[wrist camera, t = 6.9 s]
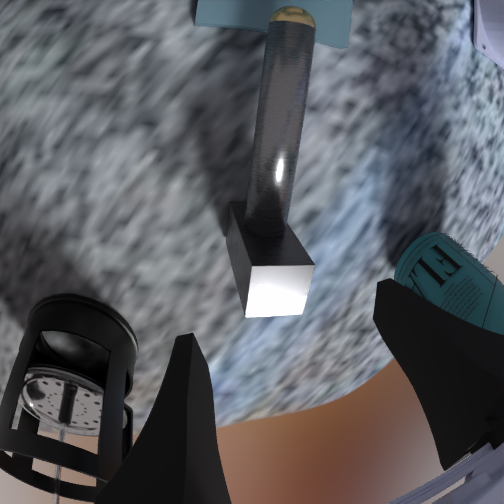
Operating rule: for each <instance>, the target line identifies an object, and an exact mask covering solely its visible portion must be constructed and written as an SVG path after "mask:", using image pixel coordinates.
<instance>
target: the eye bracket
mask: <svg viewBox="0 0 504 504" xmlns="http://www.w3.org/2000/svg"><path fill="white" fill-rule="evenodd" d="M352 4H353V0H198V4H197V11H196V18H195V26H209V27H223V28H233V29H243V30H251V31H258V32H265V33H267V30H268V23H269V19H270V17H271V15H272V14H273V13H274V12H275V11H276V10H278V9H280V8H282V7H285V6H297V7H301V8H303V9H305V10H306V11H308V12H309V13H310V14H311V15H312V17H313V18H314V20H315V23H316V34H315V42H316V43H320V44H325V45H328V46H332V47H336V48H340V49H343V48H348V40H349V32H350V23H351V14H352Z"/></svg>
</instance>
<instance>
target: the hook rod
mask: <svg viewBox="0 0 504 504" xmlns="http://www.w3.org/2000/svg"><path fill="white" fill-rule="evenodd" d="M315 34H316V23H315V20H314V18H313V17H312V15H311V14H310V13H309V12H308V11H306V10H305V9H303V8H301V7H297V6H285V7H282V8H280V9H278V10H276V11H275V12H274V13H273V14H272V15H271V17H270V19H269V23H268V30H267V38H266V46H265V54H264V61H263V69H262V77H261V85H260V93H259V101H258V110H257V118H256V126H255V134H254V143H253V151H252V160H251V168H250V177H249V186H248V194H247V202H229V211H228V222H227V234H226V245H227V249H228V253H229V257H230V261H231V265H232V269H233V273H234V276H235V280H236V284H237V288H238V292H239V296H240V299H241V303H242V307H243V311H244V315H245V317H264V316H281V315H296V314H302V313H303V310H304V306H305V302H306V299H307V295H308V291H309V288H310V284H311V280H312V276H313V272H314V268H315V264H314V263H313V261H312V260H311V258H310V256H309V255H308V253H307V252H306V250H305V249H304V247H303V246H302V244H301V243H300V241H299V240H298V238H297V237H296V235H295V234H294V232H293V231H292V229H291V228H290V226H289V225H288V224H287V219H288V213H289V207H290V201H291V196H292V190H293V184H294V178H295V172H296V165H297V159H298V153H299V147H300V140H301V134H302V127H303V121H304V114H305V107H306V100H307V94H308V87H309V79H310V72H311V65H312V57H313V50H314V42H315Z"/></svg>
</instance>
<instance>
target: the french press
mask: <svg viewBox="0 0 504 504" xmlns="http://www.w3.org/2000/svg"><path fill="white" fill-rule="evenodd" d="M42 331H60V332H66V333H70V334H75V335H78V336H80V337H83V338H86V339H88V340H90V341H92V342H94V343H96V344H98V345H100V346H102V347H103V348H105V349H106V350H108V351H109V358H108V364H107V369H104V370H95V371H93V370H85V369H80V368H77V367H74V366H72V365H69V364H67V363H65V362H64V361H62V360H61V359H59V358H58V357H57V356H56V355H55V354H53V352H52V351H51V350H50V349H49V348H48V346H47V345H46V343H45V341H44V338H43V335H42ZM137 358H138V343H137V339H136V337H135V334H134V332H133V330H132V329H131V328H130V326H129V325H128V323H127V322H126V321H125V320H124V319H123V318H122V317H121V316H120V315H119V314H117V313H116V312H114V311H113V310H112V309H110V308H109V307H107V306H105V305H103V304H102V303H100V302H98V301H95V300H92V299H90V298H87V297H83V296H78V295H73V294H59V295H52V296H49V297H47V298H44V299H43V300H41V301H40V302H38V303H37V304H36V305H35V307H34V308H33V309H32V311H31V313H30V316H29V319H28V326H27V329H26V331H25V333H24V336H23V338H22V340H21V343H20V347H19V353H18V355H17V358H16V360H15V363H14V366H13V369H12V371H11V374H10V377H9V380H8V383H7V386H6V389H5V392H4V395H3V399H2V402H1V405H0V468H1V469H2V470H3V471H5V472H6V473H8V474H9V475H11V476H13V477H15V478H16V479H18V480H20V481H22V482H24V483H26V484H29V485H31V486H33V487H35V488H38V489H40V490H43V491H46V492H49V493H52V494H54V495H53V496H54V497H53V504H59V496H62V497H65V498H70V499H74V500H79V501H85V502H92V503H94V500H95V497H96V496H97V494H98V493H99V492H100V491H101V490H102V489H103V487H104V486H105V485H106V484H107V483H108V481H109V480H110V479H111V478H112V476H113V475H114V474H115V472H116V471H117V470H118V468H119V467H120V465H121V464H122V462H123V461H124V459H125V458H126V457H127V455H128V453H129V452H130V450H131V449H132V447H133V410H132V408H130V407H129V406H128V405H127V404H125V403H124V399H125V398H126V397H127V396H128V395H129V394H130V392H131V390H132V386H133V374H134V365H135V363H136V361H137ZM18 403H19V404H20V405H21V406H22V407H23V408H22V411H21V416H20V420H19V424H18V429H17V430H16V429H11V428H12V424H13V419H14V415H15V411H16V408H17V404H18ZM40 421H42V422H44V423H46V424H48V425H50V426H52V427H54V428H57V429H59V430H60V435H59V441H58V440H55V439H52V438H49V437H45V436H42V435H38V434H37V432H38V427H39V422H40ZM66 432H68V433H73V434H77V435H83V436H99V439H98V453H97V454H94V453H92V452H89V451H87V450H84V449H81V448H79V447H76V446H73V445H70V444H67V443H64V439H65V433H66ZM4 451H8V452H12V453H13V454H12V457H10V456H9V455H7V454H6V453H5V452H4ZM33 458H36V459H39V460H42V461H46V462H50V463H53V464H56V469H55V478H51V477H49V476H46V475H44V474H41V473H39V472H37V471H34V470H32V463H33ZM61 467H65V468H68V469H72V470H74V471H77V472H80V473H83V474H86V475H89V476H92V477H95V478H96V487H93V486H84V485H79V484H73V483H69V482H65V481H61V480H60V479H61Z"/></svg>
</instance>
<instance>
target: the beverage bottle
mask: <svg viewBox="0 0 504 504" xmlns="http://www.w3.org/2000/svg"><path fill="white" fill-rule="evenodd" d="M448 235H449V234H448ZM450 237H451V236H447V235H446V233H439V232H431V233H427V234H425V235H423V236H421V237H419V238H418V239H416V240H415V241H414V242H413V243H412V244H411V245H410V246H409V247H408V248H407V249H406V251H405V252H404V253H403V255H402V256H401V258H400V260H399V262H398V264H397V267H396V270H395V275H394V280H395V281H396V282H398V283H400V284H402V285H403V286H405V287H406V288H408V289H410V290H411V291H413V292H415V293H416V294H418V295H420V296H421V297H423V298H425V299H426V300H428V301H430V302H431V303H433V304H435V305H436V306H438V307H440V308H442V309H443V310H445V311H447V312H449V313H451V314H453V315H455V316H457V317H459V318H461V319H463V320H465V321H467V322H469V323H472V324H474V325H476V326H479V327H481V328H484V329H486V330H489V331H492V332H495V333H498V334H501V335H504V285H503V284H502V283H501V282H500V280H499V279H498V278H497V277H495V276H494V275H493V274H492V273H491V271H489V270H488V269H487V267H485V266H484V265H483V264H481V263H480V262H479V260H478V259H476V258H474V257H473V256H474V255H473V256H472V255H471V254H472V253H468V252H467V251H468V250H465V249H464V248H463V247H461V246H462V244H461V245H459V242H458V243H456V241H457V240H456V239H455V241H454V240H453V238H454V237H453V238H450ZM464 247H465V246H464ZM470 252H471V251H470Z"/></svg>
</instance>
